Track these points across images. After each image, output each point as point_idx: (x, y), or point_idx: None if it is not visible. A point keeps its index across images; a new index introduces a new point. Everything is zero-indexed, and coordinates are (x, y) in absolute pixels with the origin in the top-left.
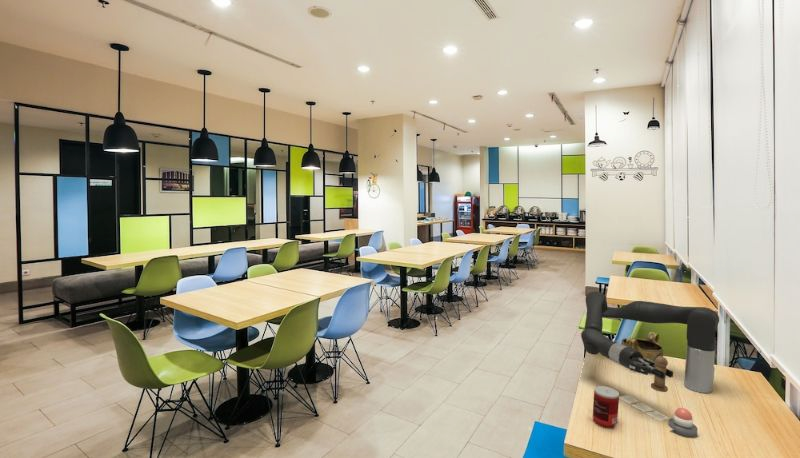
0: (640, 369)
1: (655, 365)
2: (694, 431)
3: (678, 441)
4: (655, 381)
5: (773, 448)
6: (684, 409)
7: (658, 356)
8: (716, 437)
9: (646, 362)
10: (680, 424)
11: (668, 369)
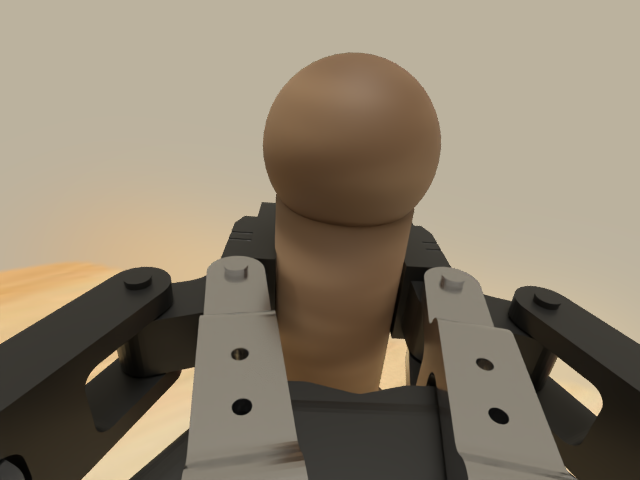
0: (596, 431)
1: (395, 243)
2: None
3: (388, 384)
4: (377, 390)
5: (107, 277)
6: None
7: (382, 73)
8: None
9: (451, 365)
10: None
11: (256, 221)
